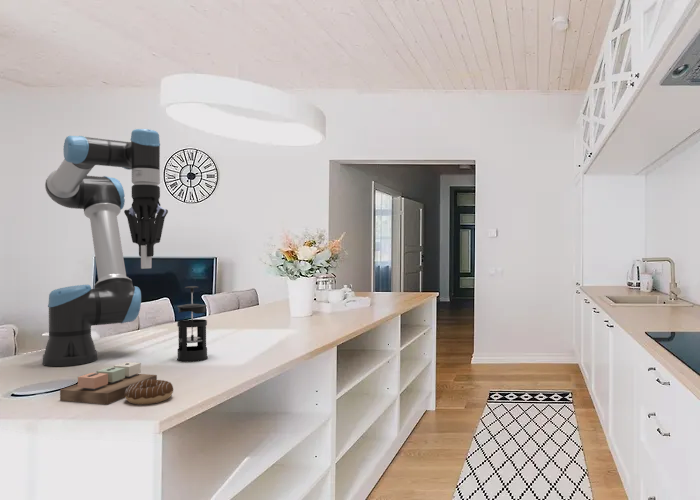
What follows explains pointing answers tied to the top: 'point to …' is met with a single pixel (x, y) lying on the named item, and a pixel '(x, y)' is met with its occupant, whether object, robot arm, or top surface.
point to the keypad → (103, 390)
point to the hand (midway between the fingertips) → (146, 268)
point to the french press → (197, 351)
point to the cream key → (130, 368)
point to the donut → (148, 392)
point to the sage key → (113, 373)
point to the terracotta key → (92, 380)
